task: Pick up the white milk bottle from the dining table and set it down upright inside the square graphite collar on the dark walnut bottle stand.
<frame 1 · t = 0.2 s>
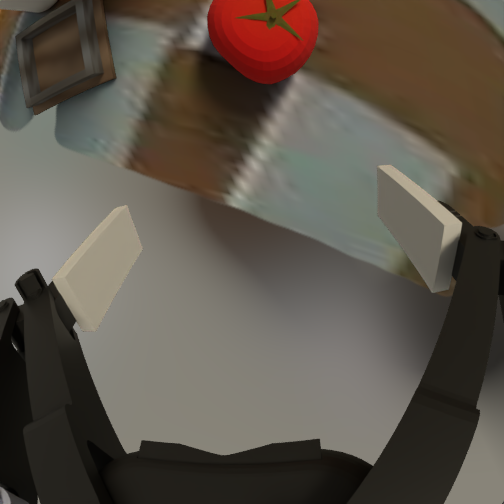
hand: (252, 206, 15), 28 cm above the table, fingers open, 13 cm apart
tomato: (263, 37, 32), on the table
bottle stand: (64, 52, 31), on the table
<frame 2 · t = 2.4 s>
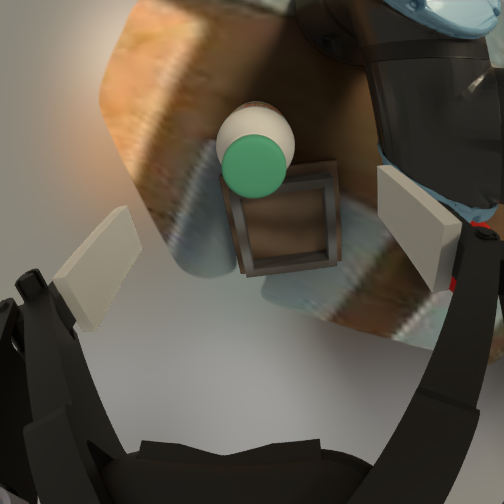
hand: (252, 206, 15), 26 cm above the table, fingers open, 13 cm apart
milk bottle: (256, 128, 38), on the table
bottle stand: (285, 218, 44), on the table
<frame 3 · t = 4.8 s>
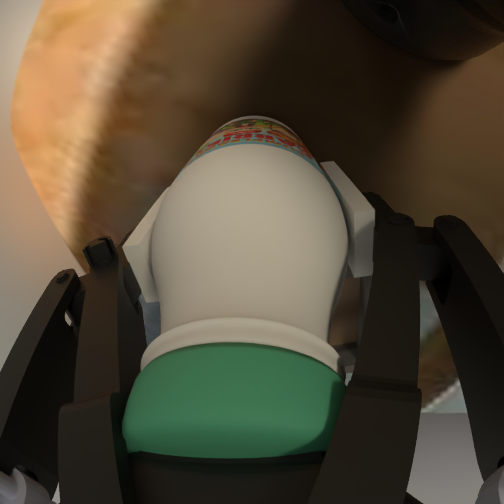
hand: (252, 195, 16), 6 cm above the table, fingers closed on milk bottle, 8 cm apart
milk bottle: (254, 165, 22), on the table, touching gripper
bottle stand: (299, 304, 28), on the table
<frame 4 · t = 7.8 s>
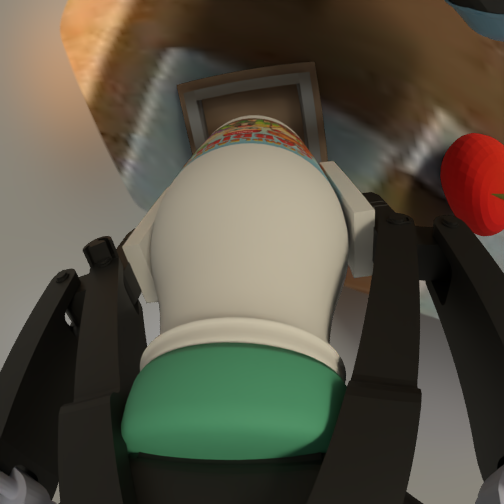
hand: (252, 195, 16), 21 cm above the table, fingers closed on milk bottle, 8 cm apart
milk bottle: (254, 165, 22), point 15 cm above the table, touching gripper
tomato: (460, 171, 35), on the table
bottle stand: (256, 133, 35), on the table
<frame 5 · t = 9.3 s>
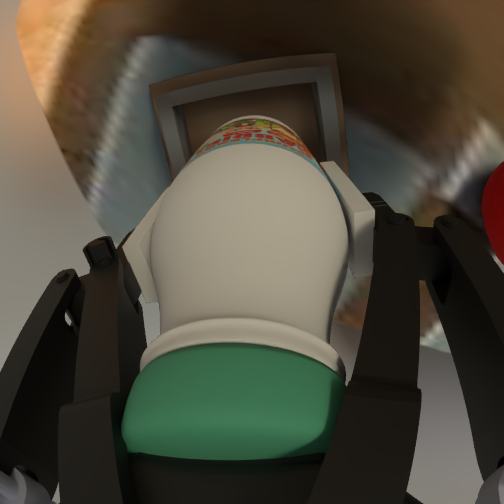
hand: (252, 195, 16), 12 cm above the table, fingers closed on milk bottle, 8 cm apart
milk bottle: (254, 165, 22), point 5 cm above the table, touching gripper
tomato: (500, 195, 27), on the table
bottle stand: (256, 149, 26), on the table
when the fingers open (9 cm above the table, at t = 10.8 s): milk bottle drops 1 cm, resting on bottle stand.
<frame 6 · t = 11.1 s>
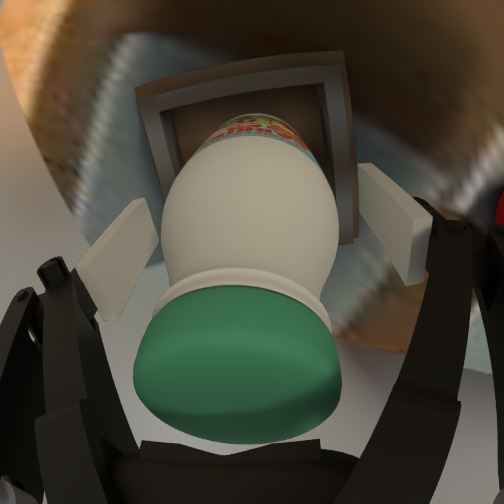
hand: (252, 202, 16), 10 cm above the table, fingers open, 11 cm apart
milk bottle: (256, 160, 23), point 1 cm above the table, touching bottle stand
bottle stand: (255, 158, 24), on the table
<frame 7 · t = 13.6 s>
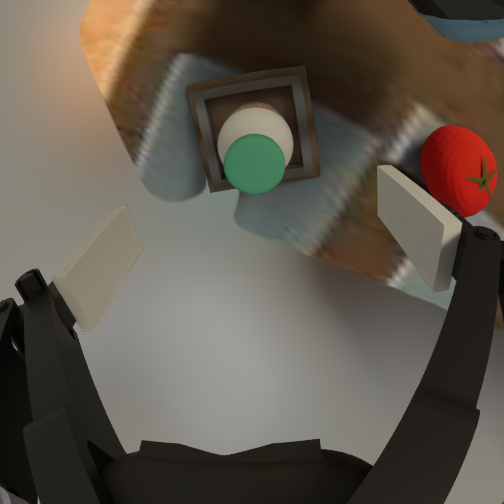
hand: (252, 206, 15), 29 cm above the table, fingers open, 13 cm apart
milk bottle: (256, 128, 39), point 1 cm above the table, touching bottle stand
tomato: (440, 160, 40), on the table
bottle stand: (255, 128, 40), on the table
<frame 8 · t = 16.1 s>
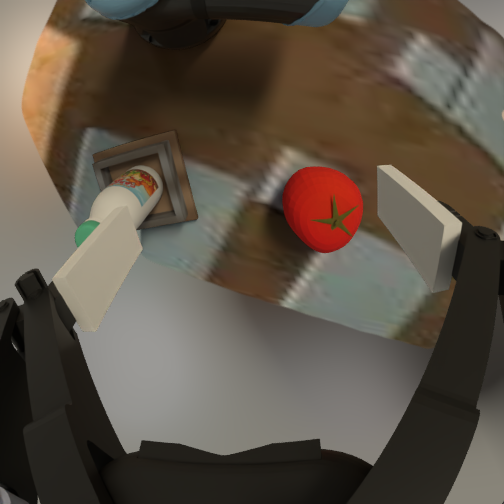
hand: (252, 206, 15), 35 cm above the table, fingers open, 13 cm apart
milk bottle: (143, 185, 50), point 1 cm above the table, touching bottle stand
tomato: (316, 196, 51), on the table
bottle stand: (144, 184, 50), on the table
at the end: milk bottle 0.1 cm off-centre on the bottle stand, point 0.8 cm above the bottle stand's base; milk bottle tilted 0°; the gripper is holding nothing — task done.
